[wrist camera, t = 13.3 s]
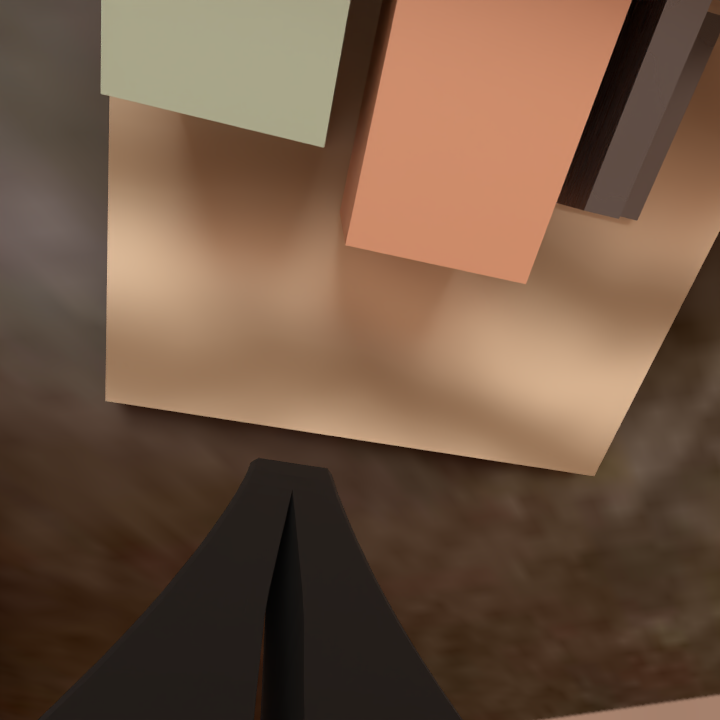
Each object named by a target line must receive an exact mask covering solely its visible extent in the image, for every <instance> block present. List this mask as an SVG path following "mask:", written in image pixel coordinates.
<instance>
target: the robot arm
mask: <svg viewBox="0 0 720 720" xmlns="http://www.w3.org/2000/svg"><path fill="white" fill-rule="evenodd" d="M265 610H266V614H265ZM264 616H265V634H264V656H263V678H262V700H261V720H462V718H461V717H460V715H459V714H458V712H457V711H456V709H455V708H454V707H453V705H452V704H451V702H450V701H449V699H448V698H447V697H446V695H445V694H444V692H443V691H442V689H441V688H440V686H439V685H438V683H437V682H436V680H435V679H434V677H433V676H432V674H431V672H430V671H429V669H428V668H427V666H426V665H425V663H424V662H423V660H422V659H421V657H420V655H419V654H418V652H417V651H416V649H415V647H414V646H413V644H412V642H411V641H410V639H409V637H408V636H407V634H406V632H405V631H404V629H403V627H402V626H401V624H400V622H399V620H398V619H397V617H396V615H395V613H394V611H393V610H392V608H391V606H390V604H389V602H388V601H387V599H386V597H385V595H384V593H383V591H382V590H381V588H380V586H379V584H378V582H377V580H376V578H375V576H374V574H373V572H372V570H371V568H370V566H369V564H368V562H367V560H366V558H365V555H364V553H363V551H362V549H361V547H360V545H359V543H358V541H357V539H356V536H355V534H354V532H353V530H352V527H351V525H350V523H349V520H348V518H347V515H346V513H345V510H344V508H343V505H342V503H341V500H340V498H339V495H338V492H337V489H336V486H335V483H334V480H333V477H332V474H331V473H330V472H329V470H328V469H327V468H320V467H314V466H307V465H301V464H294V463H288V462H281V461H275V460H268V459H261V458H258V459H256V460H254V461H253V462H251V463H250V466H249V469H248V471H247V474H246V476H245V478H244V480H243V482H242V483H241V485H240V487H239V489H238V490H237V492H236V494H235V495H234V497H233V499H232V500H231V502H230V503H229V505H228V506H227V508H226V510H225V511H224V512H223V514H222V515H221V517H220V518H219V519H218V521H217V522H216V524H215V525H214V527H213V528H212V529H211V531H210V532H209V534H208V535H207V536H206V538H205V539H204V541H203V542H202V543H201V545H200V546H199V547H198V549H197V550H196V551H195V552H194V554H193V555H192V556H191V557H190V558H189V560H188V561H187V562H186V563H185V565H184V566H183V567H182V568H181V569H180V571H179V572H178V573H177V574H176V576H175V577H174V578H173V579H172V581H171V582H170V583H169V584H168V585H167V587H166V588H165V589H164V590H163V591H162V593H161V594H160V595H159V596H158V597H157V598H156V599H155V601H154V602H153V603H152V604H151V605H150V606H149V607H148V609H147V610H146V611H145V612H144V613H143V614H142V615H141V616H140V617H139V618H138V620H137V621H136V622H135V623H134V624H133V625H132V626H131V627H130V628H129V629H128V630H127V631H126V632H125V634H124V635H123V636H122V637H121V638H120V639H119V640H118V641H117V642H116V643H115V644H114V645H113V646H112V647H111V648H110V649H109V650H108V651H107V652H106V654H105V655H104V656H103V657H102V658H101V659H100V660H99V661H98V662H97V663H96V664H95V665H94V666H93V667H92V668H91V669H89V670H88V671H87V672H86V673H85V674H84V675H83V676H82V677H81V678H80V679H79V680H78V681H77V682H76V683H75V684H74V685H73V686H72V687H71V688H70V689H69V690H68V691H67V692H66V693H65V694H64V695H63V696H62V697H61V698H60V699H59V700H58V701H57V702H56V703H55V704H54V705H53V706H52V707H51V708H50V709H49V710H48V711H47V712H46V713H45V714H43V715H42V716H41V717H40V718H39V719H38V720H254V711H255V701H256V691H257V682H258V672H259V663H260V654H261V644H262V635H263V626H264Z"/></svg>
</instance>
